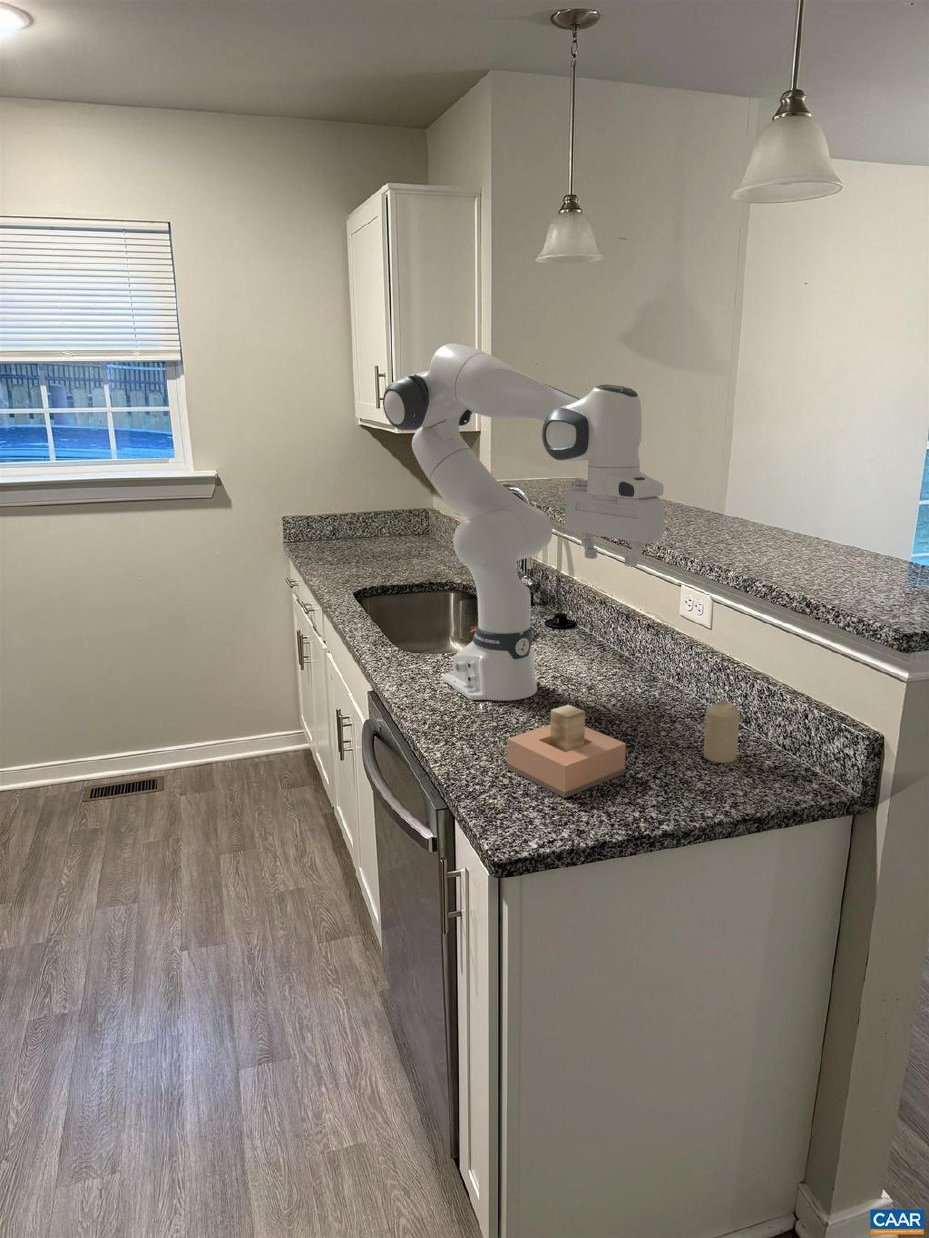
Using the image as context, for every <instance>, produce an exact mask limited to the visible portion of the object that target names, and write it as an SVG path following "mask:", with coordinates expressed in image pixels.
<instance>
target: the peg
mask: <svg viewBox="0 0 929 1238" xmlns="http://www.w3.org/2000/svg"><path fill="white" fill-rule="evenodd" d="M550 724H551V735H550V745H551V746H553V747H555V748H557V749H560V750H562V751H564V752H568V751H571V750H573V749H576V748H579V747H582V746H584V736H585V727H586V725H585V724H586V710H583V709H581V708H579V707H578V708H577V707H576V706H573V705H570V704H566V705H562V706H558V707H556V708H552V709H550Z"/></svg>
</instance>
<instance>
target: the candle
mask: <svg viewBox="0 0 929 1238" xmlns="http://www.w3.org/2000/svg"><path fill="white" fill-rule="evenodd" d="M740 715H741V713H740V711H739V710H738V708H737V707H736V706H735V705H734V703H732V702H726V701H724V700H720V701H718V702H714V703H713V704H711V705H710V706H709V707H708V708H706V715H705V729H704V739H703V740H704V742H703V743H704V744H703V756H704V758H705V759H706V760H708V761H710V762H713V763H717V764H730V763H733V762H735V761H736V760H737V752H738V741H739V740H738V739H739V729H740V727H739V725H740Z"/></svg>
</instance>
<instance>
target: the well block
mask: <svg viewBox="0 0 929 1238" xmlns="http://www.w3.org/2000/svg"><path fill="white" fill-rule="evenodd" d="M550 735H551V723H550V724H547V725H544V726H541V727H538V728H535V729H532V730H529V731H526V732H523V733H520V734H516V735H514V736H511V737H507V739H506V769H508V770H509V771H511V772H512V773H515V774H517V775H519V776H521V777H523V778H525V779H527V780H529V781H531V782H533V783H534V784H537V785H539V786H540V787H541V788H544V789H546V790H548V791H550V792H552V793H554V794H556V795H558V796H559V797H561V798H563V799H565V798H568V797H572V796H573V795H577V794H578V793H581V792H583V791H586V790H587V789H591V788H592V787H596V786H597V785H600V784H602V783H603V784H604V783H605V782H608V781H610V780H613V779H614V778H617V777H620V776H622V775H625V769H626V768H625V767H626V748H627V746H626V744H627V743H625V742H623V741H621V740H619V739H617V738H613V737H611V736H609V735H607V734H604V733H602V732H599V731H596V730H594V729H592V728H590V727H587V726H585V736H584V746H582V747H579V748H576V749H573V750H571V751H568V752H564V751H562V750H560V749H557V748H555V747H553V746H551V745H550Z"/></svg>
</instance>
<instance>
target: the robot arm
mask: <svg viewBox="0 0 929 1238" xmlns="http://www.w3.org/2000/svg"><path fill="white" fill-rule="evenodd" d="M641 405H642V404H641V399H640V396H639V394H638V393H637V392H636V391H635V390H634V389H632V388H630V387H627V386H622V385H613V384H600V385H596V386H594V388H592V390H591V391H590V392H589V393H588V394H586V395H585V396H583V397H582V398H579V397H577V396H575V395H572V394H570V393H567V392H565V391H563V390H560V389H558V388H555V387H553V386H550V385H548V384H546V383H544V382H542V381H540V380H538V379H537V378H535V377H532V376H531V375H528V374H526V373H524V372H522V371H521V370H519V369H517V368H515V367H513V366H512V365H511V364H508V363H506V362H505V361H503V360H501V359H500V358H498V357H495V356H493V355H491V354H489V353H487V352H485V351H483V350H480V349H478V348H476V347H475V348H474V347H472V346H469V345H466V344H465V345H464V344H460V343H454V342H453V343H452V342H451V343H447V344H444V345H442V346H441V347H440V348H438V349H437V350H436V351H435V353H434V354H433V355H432V358H431V360H430V363H429V369H427V370H424V371H421V372H418V373H412V374H410V375H409V374H408V375H405V376H402V377H400V378H398V379H396V380H394V381H393V382H391V383H390V384H389V385H387V387H386V388H385V390H384V392H383V399H382V406H383V407H382V408H383V411H384V414H385V417H386V418H387V420H388V422H389V423H390V424H391V425H392V426H393V428H396V429H397V430H399V431H416V432H414V435H413V436H412V441H411V448H412V453H414V454H413V455H414V456H415V458H416V460H417V463H418V465H419V466H420V468H421V470H422V471H423V473H424V474H425V477H427V479H428V481H429V483H431V485H432V486H433V488H434V489H435V490H436V492H438V494H439V495H440V496H441V498H442V499H443V501H444V502H445V504H446V505H447V506H448V508H449V509H450V510H451V511H453V512H454V513H456V514H458V515H460V516H462V517H465V518H466V520H463V521H462V522H460V523H459V524H458V526H457V527H456V528H455V529H456V530H455V531H454V534H453V539H452V540H453V549H454V553H455V555H456V556H457V558H458V559H459V561H460V562H461V563H462V564H463V565H465V566H466V568H467V569H468V570H469V571H470V574H471V576H472V578H473V582H474V584H475V589H476V595H477V613H478V614H477V620H478V622H477V624H478V625H476V626H471V627H470V629H471V630H470V633H474V635H473V638H472V641H471V642H470V643H468V644H467V645H465V646H464V647H463V648H462V649H460V650H459V651H458V652H457V653H456V654H455V655H454V657H453V661H452V670H449V671H448V672H446V673H444V674H443V675H441V676H442V678H441V680H442V682H444V683H445V682H446V683H445V684H447V683H448V684H449V685H448V684H447V685H448V686H450V685H451V686H452V687H451V686H450V687H451V688H453V689H454V690H456V691H458V692H459V693H460V694H461V693H462V695H463V696H464V697H466V698H467V699H468V700H471V701H473V700H474V701H477V700H479V701H483V700H484V701H485V700H487V701H488V700H489V701H501V702H503V701H505V702H506V701H517V700H521V699H522V700H523V699H527V698H530V697H532V696H534V695H535V694H536V693H537V692H538V685H537V684H538V682H539V678H538V676H537V675H536V667H535V659H534V656H535V655H534V649H533V647H532V644H533V636H534V633H533V626H532V625H531V612H532V611H531V604H532V603H531V602H532V601H531V600H532V598H531V596H532V595H531V591H530V588H529V587H528V586H527V585H526V584H525V583H523V582H522V581H521V579H520V577H519V573H518V567H517V562H518V561H521V560H524V559H528V558H532V557H533V556H535V555H537V554H538V553H540V552H542V551H543V550H544V549H546V547H547V546H548V545H549V544H550V542H551V541H552V537H553V524H552V521H551V519H550V517H549V516H548V515H547V514H546V512H545V511H543V510H542V509H540V508H537V507H535V506H533V505H531V504H529V503H528V502H526V501H524V500H523V499H521V498H520V497H518V496H517V495H516V494H514V493H513V492H512V491H510V490H509V489H508V488H507V487H505V486H504V485H503V484H501V482H500V481H498V480H497V478H495V477H494V475H493V474H491V472H490V471H489V470H488V469H487V467H486V466H485V465H484V464H483V462H482V461H481V460H480V459H479V457H478V456H477V455H476V454H475V452H474V451H473V450H472V448H471V447H470V446H469V445H468V444H467V442H466V441H465V439H463V437H462V435H461V433H460V429H459V428H460V427H461V426H462V427H463V426H465V425H468V423H470V421H471V417H472V414H473V413H474V414H477V415H481V416H484V417H488V418H494V419H497V418H502V419H504V418H505V419H506V418H507V419H509V418H510V419H511V418H523V419H526V418H527V419H536V420H541V421H543V425H542V429H541V430H542V431H541V438H542V444H543V446H544V449H545V451H546V452H547V454H548V455H549V456H550V457H551V458H553V459H554V460H557V461H562V462H577V461H581V462H582V461H587V480H583V479H575V480H574V481H573V482H572V483H571V484H570V485H569V487H568V496H567V499H566V505H565V514H564V526H565V528H566V530H567V531H570V532H576V533H579V539H580V540H579V541H580V542H581V544H582V546H583V548H584V558H585V559H591V560H593V559H597V558H598V548H597V547H595V546H594V543H593V538H595V537H594V536H599V537H606V538H612V539H617V540H622V541H623V540H624V541H629V547H630V548H631V550H630V552H629V554H628V555H624V563H623V564H624V566H626V567H630V568H635V567H637V566H638V564H639V563H638V561H639V556H640V554H641V553H642V551H643V550H644V547H645V544H654V543H659V541H661V539H662V538H663V536H664V532H665V507H664V503H663V500H662V499H661V498H660V497H661V496H663V494H664V490H665V488H664V487H665V486H664V484H663V483H662V482H660V481H659V480H656V479H654V478H652V477H650V476H649V475H647V474H645V473H643V472H642V471H641V461H640V458H639V457H640V456H639V449H640V444H641V442H642V428H643V427H642V425H643V423H642V422H643V421H642V406H641Z"/></svg>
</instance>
